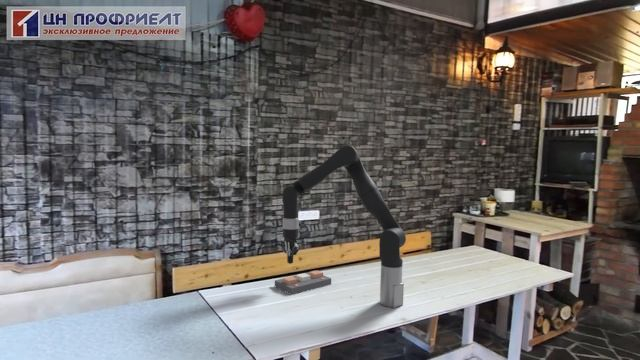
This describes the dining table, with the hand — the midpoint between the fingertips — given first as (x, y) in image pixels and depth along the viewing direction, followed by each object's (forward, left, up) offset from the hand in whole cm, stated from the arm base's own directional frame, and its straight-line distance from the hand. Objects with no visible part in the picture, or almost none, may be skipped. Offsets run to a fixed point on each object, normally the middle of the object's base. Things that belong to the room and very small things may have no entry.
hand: (290, 263), depth 195 cm
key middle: (0, -8, -10) cm, 13 cm away
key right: (0, -16, -11) cm, 19 cm away
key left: (0, 0, -11) cm, 11 cm away
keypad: (0, -8, -13) cm, 15 cm away
